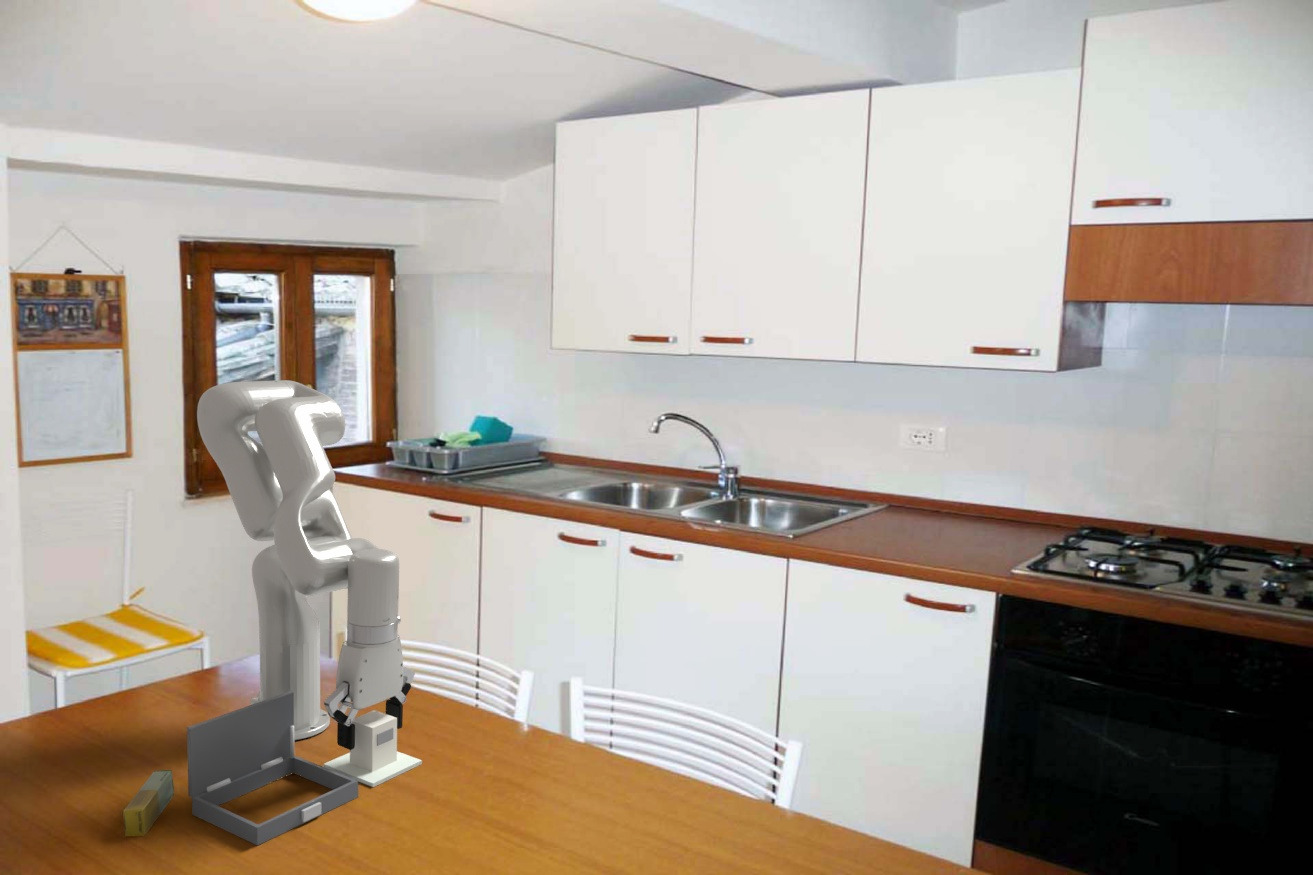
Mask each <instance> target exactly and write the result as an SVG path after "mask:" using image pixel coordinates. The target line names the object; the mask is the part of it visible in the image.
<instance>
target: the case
mask: <svg viewBox="0 0 1313 875" xmlns="http://www.w3.org/2000/svg"><path fill="white" fill-rule="evenodd" d="M186 739H187V740H186V744H187V745H186V746H187V751H186V752H187V785H188V787H187V788H188V790H187V791H188V792H187V794H188V797H190V798H191V809H192V812H191V814H192V815H193V816H195V817H196V818H197V817H198V818H199V819H201V820H202V821H203V820H204V821H205V822H207V823H209V824H212V825H214V826H216V827H217V828H220V829H222V830H224V831H226V832H228V833H230V834H233V835H235V836H237V837H239V838H241V839H243V840H245V841H247V842H249V843H251V844H253V845H255V846H260V845H262V844H265V843H267V841H270V840H272V839H274V838H277V837H278V836H280V835H283V834H284V833H286V832H289V831H291V830H292V829H295V828H297V827H299V826H301V825H303V824H305V823H307V822H310V821H311V820H314V819H316V818H318V817H319V816H322V815H324V814H326V813H328V812H330V811H333V810H334V809H336V808H339V807H340V806H342V805H344V804H347V803H349V802H351V801H353V800H355V799H357V798H359V781H358V780H355V779H353V778H350V777H348V776H345V775H343V774H340V773H338V772H335V771H332V770H330V769H327V768H325V767H323V766H322V765H319V764H317V763H314V762H312V761H310V760H307V759H304V758H302V757H299V756H298V755H295V740H294V692H291V691H289V692H287V693H284V694H281V695H278V696H275V697H272V698H269V699H267V700H264V701H261V702H258V703H255V704H252V705H251V704H249V705H246V706H244V707H240V708H239V709H236V710H232V711H229V712H226V713H224V714H221V715H219V716H218V715H217V716H216V717H212V718H210V719H207V720H204V721H202V722H198V723H196V724H193V725H189V726H187V727H186ZM291 773H293V774H294V773H296V774H295V775H297V774H298V775H297V776H299V775H301V776H300V777H302V778H305V779H307V780H309V781H311V782H314V783H317V784H319V785H321V786H323V787H327V788H328V789H331V790H330V791H328V792H326V793H323V794H321V795H319V796H317V797H315V798H313V799H310V800H308V801H306V802H305V803H302V804H300V805H297V806H295V807H293V808H291V809H289V810H286V811H285V812H282V813H280V814H278V815H275V816H273V817H272V818H270V819H267V820H266V821H263V822H261V823H255V822H254V821H252V820H250V819H247V818H246V817H242V816H240V815H239V814H237V813H234V812H232V811H230V810H227V809H226V808H223V807H220V805H223V804H226V803H228V802H230V801H233V800H235V799H236V798H239V797H241V795H242V796H243V794H244V795H246V794H248V792H249V793H251V792H253V791H256V790H257V788H258V789H259V788H262V786H263V787H264V785H265V786H267V785H269V783H270V782H272V781H274V782H276V781H275V780H277V779H279V780H281V779H282V778H281V777H284V776H286V775H288V776H290V774H291ZM291 775H292V774H291ZM286 777H287V776H286ZM280 778H281V779H280ZM284 778H285V777H284ZM277 781H278V780H277ZM272 783H273V782H272ZM266 784H267V785H266ZM270 784H271V783H270ZM255 789H256V790H255ZM252 790H253V791H252Z"/></svg>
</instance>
